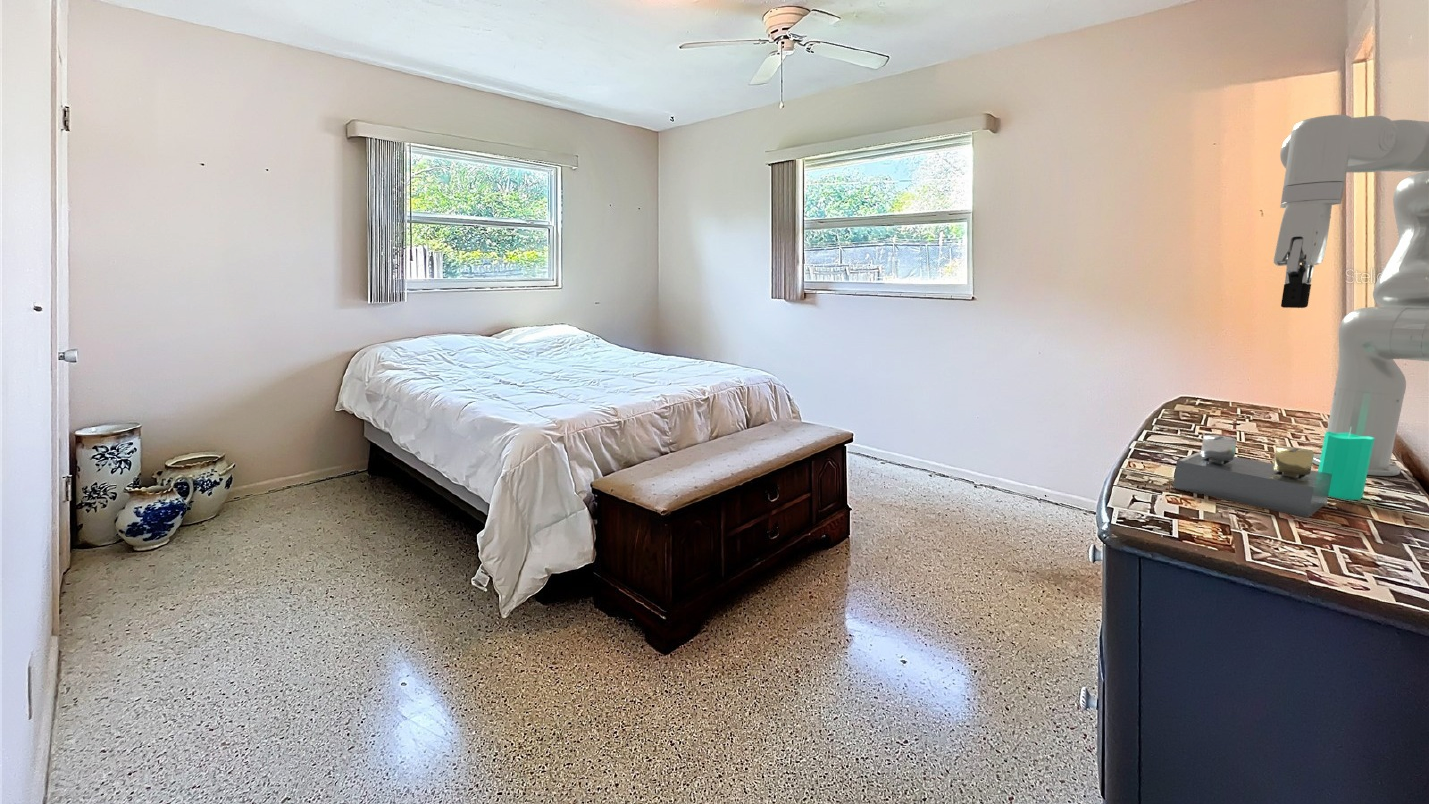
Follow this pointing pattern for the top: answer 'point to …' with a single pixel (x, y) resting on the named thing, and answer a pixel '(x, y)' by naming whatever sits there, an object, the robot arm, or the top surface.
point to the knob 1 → (1218, 448)
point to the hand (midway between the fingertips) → (1294, 307)
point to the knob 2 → (1293, 461)
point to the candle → (1346, 463)
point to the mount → (1253, 484)
